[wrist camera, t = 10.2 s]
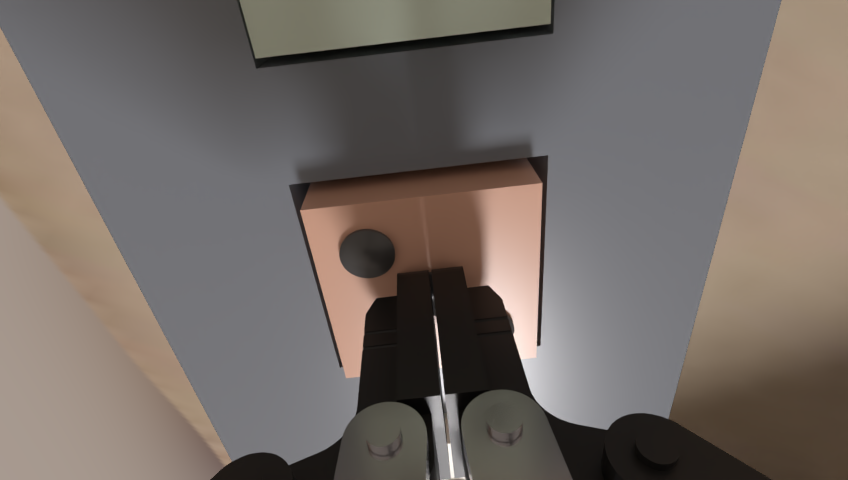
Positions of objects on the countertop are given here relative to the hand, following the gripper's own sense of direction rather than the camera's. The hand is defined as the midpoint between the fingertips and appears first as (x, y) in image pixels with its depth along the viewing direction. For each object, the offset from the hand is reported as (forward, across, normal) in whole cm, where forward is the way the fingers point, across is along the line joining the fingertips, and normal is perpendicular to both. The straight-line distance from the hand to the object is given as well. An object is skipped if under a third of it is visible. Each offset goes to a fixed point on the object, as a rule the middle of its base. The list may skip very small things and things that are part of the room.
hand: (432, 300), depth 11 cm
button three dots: (+5, 0, 0) cm, 5 cm away
